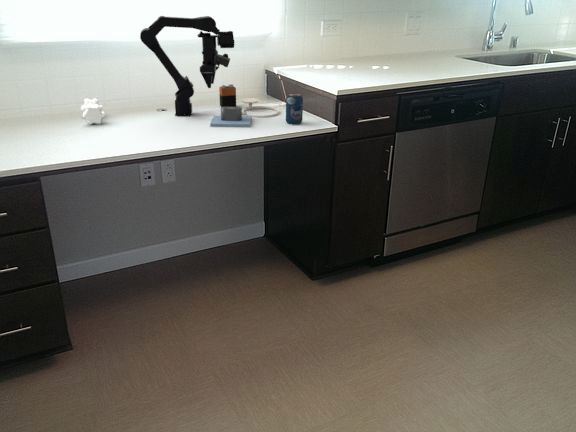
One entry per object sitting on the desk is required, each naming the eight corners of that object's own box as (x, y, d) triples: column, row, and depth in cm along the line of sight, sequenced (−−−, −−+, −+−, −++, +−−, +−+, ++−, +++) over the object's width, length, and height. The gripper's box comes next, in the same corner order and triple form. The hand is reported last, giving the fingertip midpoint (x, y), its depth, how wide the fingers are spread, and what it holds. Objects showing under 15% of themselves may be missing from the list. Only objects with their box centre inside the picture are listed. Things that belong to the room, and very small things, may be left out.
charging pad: (210, 126, 221) (210, 123, 221) (214, 118, 233) (214, 115, 232) (249, 127, 221) (249, 124, 221) (251, 118, 233) (251, 116, 233)
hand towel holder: (256, 110, 230) (229, 101, 245) (256, 120, 232) (229, 110, 247) (287, 104, 240) (259, 95, 254) (287, 114, 242) (259, 105, 256)
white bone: (105, 125, 222) (105, 105, 219) (83, 125, 219) (82, 105, 216) (102, 116, 235) (101, 97, 232) (80, 116, 231) (80, 97, 228)
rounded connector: (220, 120, 225) (220, 108, 223) (221, 118, 228) (221, 106, 226) (246, 121, 225) (246, 109, 223) (246, 118, 228) (246, 107, 226)
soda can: (292, 126, 224) (293, 97, 219) (282, 122, 229) (282, 93, 224) (305, 123, 228) (306, 94, 223) (295, 120, 233) (295, 91, 228)
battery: (236, 107, 251) (236, 85, 247) (222, 108, 248) (221, 86, 244) (233, 105, 255) (233, 83, 250) (219, 106, 252) (218, 84, 248)
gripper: (226, 52, 220) (227, 90, 227) (230, 45, 237) (231, 81, 244) (198, 51, 220) (200, 90, 227) (205, 45, 237) (206, 81, 244)
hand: (210, 85), depth 235 cm, fingers open, 9 cm apart
